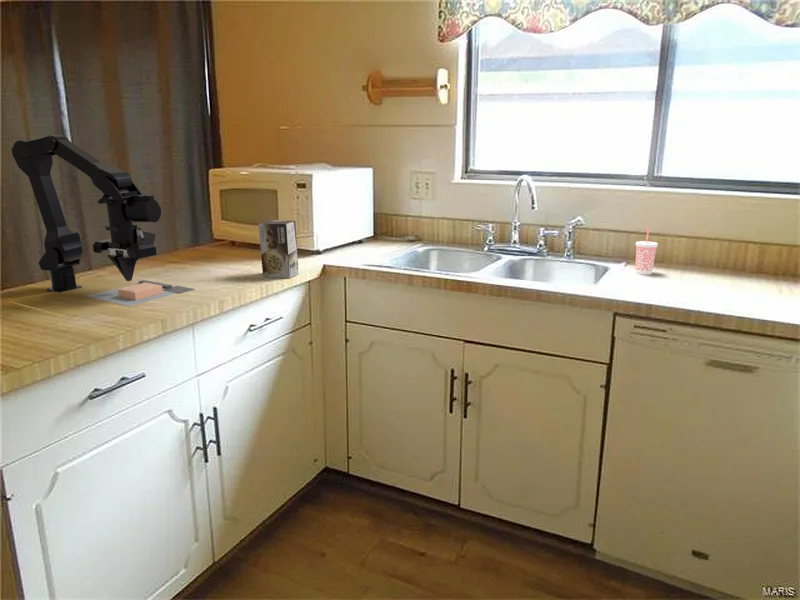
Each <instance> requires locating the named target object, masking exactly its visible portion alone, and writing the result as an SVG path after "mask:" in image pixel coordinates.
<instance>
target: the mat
mask: <svg viewBox="0 0 800 600" xmlns="http://www.w3.org/2000/svg"><path fill="white" fill-rule="evenodd" d="M137 284H141V283H139V282H138V283H134V284H130V285H126V286H122V287H121V286H120V287H118V288H114V289H109V290H104V291H102V292H97V293H94V294H89V295H86V296H85V297H87V298H92V299H95V300H100V301H103V302H108V303H112V304H113V303H114V304H118V305H122V306H126V307H131V306H132V307H133V306H134V305H138V304H142V303H145V302H149V301H153V300H157V299H161V298H165V297H169V296H171V295H172V296H173V295H176V294H177V293H174V292H169V291H164V290H163V293H161V294H158V295H154V296H150V297H146V298H143V299H139V300H132V299H128V298H123V297H119V295H118V289H120V288H124V287H128V286H132V285H137ZM162 289H166V288H162Z"/></svg>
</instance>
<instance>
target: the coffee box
mask: <svg viewBox="0 0 800 600" xmlns="http://www.w3.org/2000/svg"><path fill="white" fill-rule="evenodd" d="M257 224H258V233H259V245H260V246H259V247H260V257H261V270H262V277H263V278H275V279H276V278H277V279H278V278H279V279H282V278H283V279H291V278H294V277H295V276H298V275H299V262H298V261H299V258H298V244H297V243H298V240H297V229H296V227H297V226H296V220H287V219H286V220H285V219H284V220H283V219H282V220H280V219H267V220H264V221H261V222H259V223H257Z"/></svg>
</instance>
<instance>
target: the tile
mask: <svg viewBox="0 0 800 600" xmlns="http://www.w3.org/2000/svg"><path fill="white" fill-rule="evenodd" d="M136 284H137V285H134V284H131V285H132V286H130V285H127V286H128V287H126V286H123V287H124V288H121V287H119V288H120V289H118V295H119V297H123V298H128V299H132V300H139V299H143V298H146V297H150V296H154V295H158V294H161V293H163V289H162V286H161V285H156V284H150V283H141V284H138V283H136Z"/></svg>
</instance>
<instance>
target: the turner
mask: <svg viewBox="0 0 800 600" xmlns="http://www.w3.org/2000/svg"><path fill="white" fill-rule="evenodd" d="M138 283H150V284H156V285H161V286H162V288H166V289H163V290H164V291H169V292H174V293H176V294H179V295H180V294H183V293H186V292H191V291H193V290H195V288H192V287H185V286H181V285H174V286H173V285H172V284H168V283H163V282H158V281H152V280H151V281H150V280H146V279H143V280H139V281H138Z"/></svg>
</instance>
